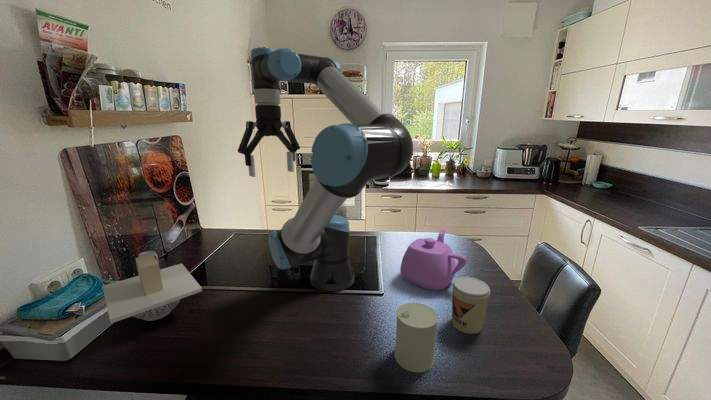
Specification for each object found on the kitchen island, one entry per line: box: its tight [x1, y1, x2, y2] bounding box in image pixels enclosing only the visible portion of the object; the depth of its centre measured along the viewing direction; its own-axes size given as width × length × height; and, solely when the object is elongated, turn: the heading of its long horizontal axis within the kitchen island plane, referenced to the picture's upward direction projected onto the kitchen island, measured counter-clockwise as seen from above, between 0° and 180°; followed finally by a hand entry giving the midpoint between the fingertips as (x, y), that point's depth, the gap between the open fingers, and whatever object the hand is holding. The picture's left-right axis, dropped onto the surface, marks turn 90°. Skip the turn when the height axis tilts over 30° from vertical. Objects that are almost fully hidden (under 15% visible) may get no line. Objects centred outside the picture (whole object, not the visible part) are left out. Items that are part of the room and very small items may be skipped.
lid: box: [102, 254, 203, 324], centre depth 82 cm, size 20×20×9 cm
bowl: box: [132, 299, 181, 322], centre depth 84 cm, size 16×16×8 cm
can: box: [394, 302, 439, 374], centre depth 68 cm, size 9×9×12 cm
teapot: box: [399, 230, 467, 291], centre depth 103 cm, size 23×21×15 cm
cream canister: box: [451, 276, 491, 335], centre depth 80 cm, size 9×9×12 cm
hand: (272, 173), depth 96 cm, fingers open, 13 cm apart
